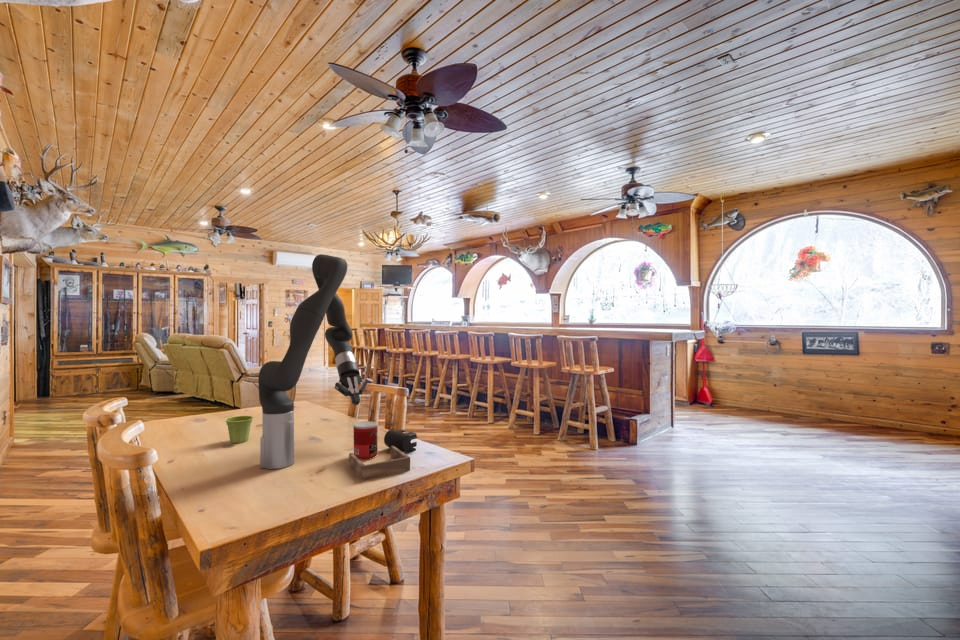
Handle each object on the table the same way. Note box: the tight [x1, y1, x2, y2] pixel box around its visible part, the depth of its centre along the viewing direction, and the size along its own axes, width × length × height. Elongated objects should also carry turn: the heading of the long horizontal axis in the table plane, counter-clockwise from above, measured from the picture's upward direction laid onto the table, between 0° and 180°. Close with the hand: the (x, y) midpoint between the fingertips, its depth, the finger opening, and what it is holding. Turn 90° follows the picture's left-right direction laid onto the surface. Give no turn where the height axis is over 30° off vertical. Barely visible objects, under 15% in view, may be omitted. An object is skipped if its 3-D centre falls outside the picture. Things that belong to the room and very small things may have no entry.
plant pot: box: [224, 415, 254, 444], centre depth 163 cm, size 9×9×9 cm
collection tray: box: [348, 446, 411, 481], centre depth 136 cm, size 14×15×4 cm
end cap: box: [383, 429, 418, 454], centre depth 153 cm, size 10×7×7 cm
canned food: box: [353, 421, 378, 460], centre depth 147 cm, size 8×8×11 cm
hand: (356, 403), depth 156 cm, fingers closed
